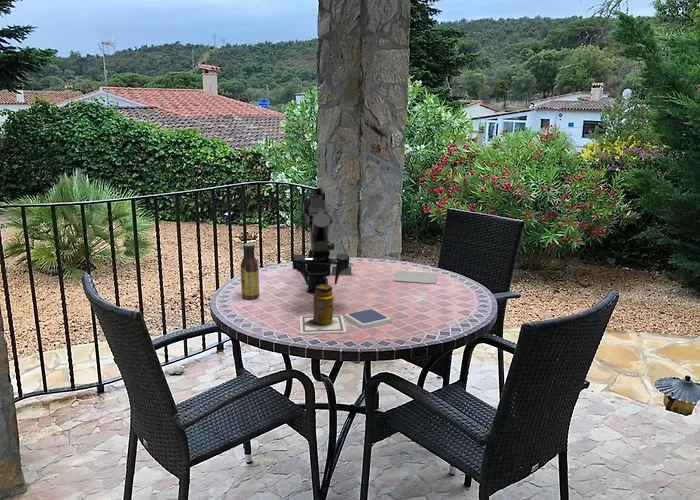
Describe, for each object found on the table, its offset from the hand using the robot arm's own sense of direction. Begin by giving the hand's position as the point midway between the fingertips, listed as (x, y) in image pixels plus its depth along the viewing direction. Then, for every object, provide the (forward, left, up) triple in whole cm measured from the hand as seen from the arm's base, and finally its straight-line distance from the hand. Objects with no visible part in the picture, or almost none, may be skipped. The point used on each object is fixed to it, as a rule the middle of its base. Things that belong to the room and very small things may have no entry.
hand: (321, 284), depth 179 cm
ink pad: (+16, +1, -11) cm, 19 cm away
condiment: (+3, -8, -10) cm, 13 cm away
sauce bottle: (-30, +8, -11) cm, 33 cm away
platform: (-9, +46, -11) cm, 48 cm away
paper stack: (+17, +47, -11) cm, 51 cm away
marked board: (+3, -8, -11) cm, 14 cm away
